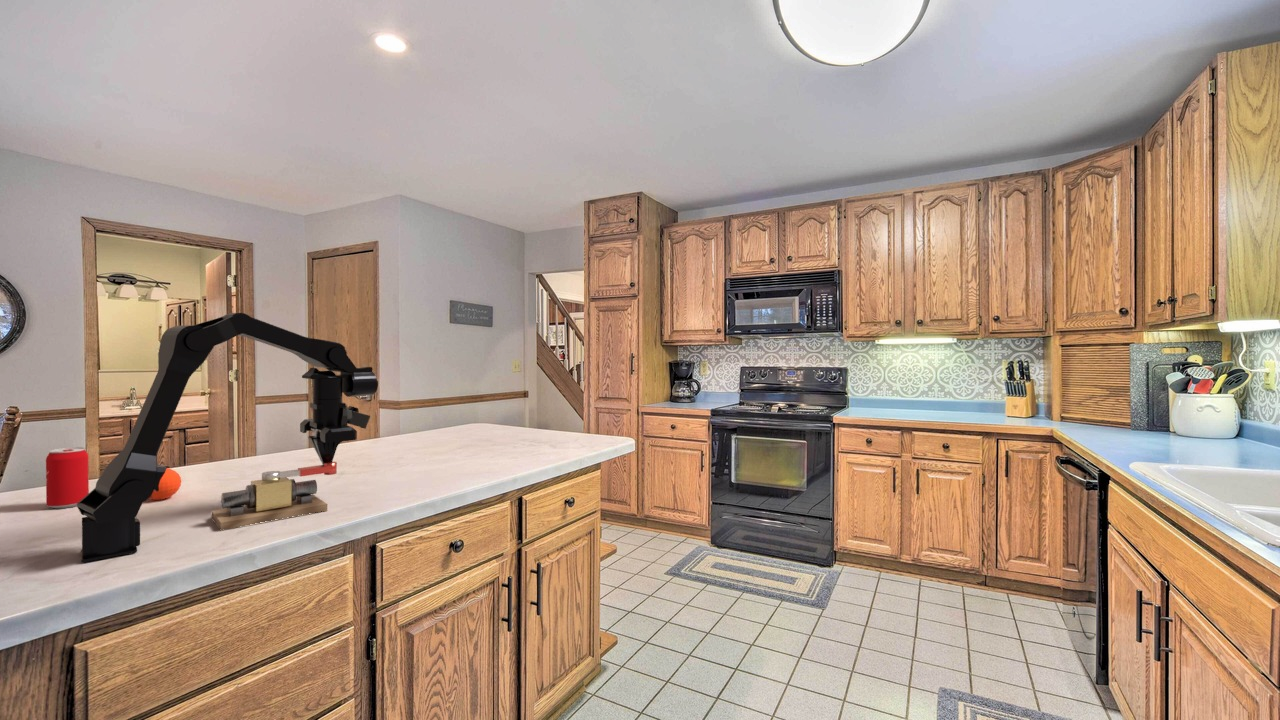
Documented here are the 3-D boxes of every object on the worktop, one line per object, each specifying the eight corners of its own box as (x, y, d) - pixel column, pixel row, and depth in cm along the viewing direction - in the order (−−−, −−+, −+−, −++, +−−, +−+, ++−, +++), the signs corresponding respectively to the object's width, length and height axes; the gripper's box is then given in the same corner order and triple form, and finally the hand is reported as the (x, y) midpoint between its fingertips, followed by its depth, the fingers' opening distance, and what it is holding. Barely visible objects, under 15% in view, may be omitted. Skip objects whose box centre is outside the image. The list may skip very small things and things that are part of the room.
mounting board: (220, 530, 101) (221, 522, 101) (211, 518, 108) (211, 511, 108) (327, 511, 114) (327, 504, 114) (313, 501, 121) (313, 494, 121)
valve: (225, 518, 104) (225, 490, 103) (220, 512, 107) (220, 485, 107) (318, 502, 115) (318, 476, 115) (311, 497, 119) (311, 472, 119)
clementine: (158, 505, 116) (158, 472, 116) (126, 504, 116) (126, 472, 116) (189, 495, 124) (189, 464, 124) (159, 494, 124) (159, 464, 124)
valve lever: (263, 484, 109) (263, 472, 109) (260, 481, 111) (260, 470, 111) (338, 474, 119) (338, 463, 119) (334, 471, 121) (334, 460, 121)
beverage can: (83, 499, 119) (83, 445, 119) (93, 504, 116) (92, 448, 116) (42, 506, 114) (41, 450, 114) (50, 511, 111) (50, 453, 111)
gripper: (381, 400, 119) (381, 470, 120) (351, 393, 132) (351, 456, 133) (326, 403, 111) (325, 478, 112) (299, 395, 124) (299, 462, 125)
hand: (327, 468), depth 120 cm, fingers closed
